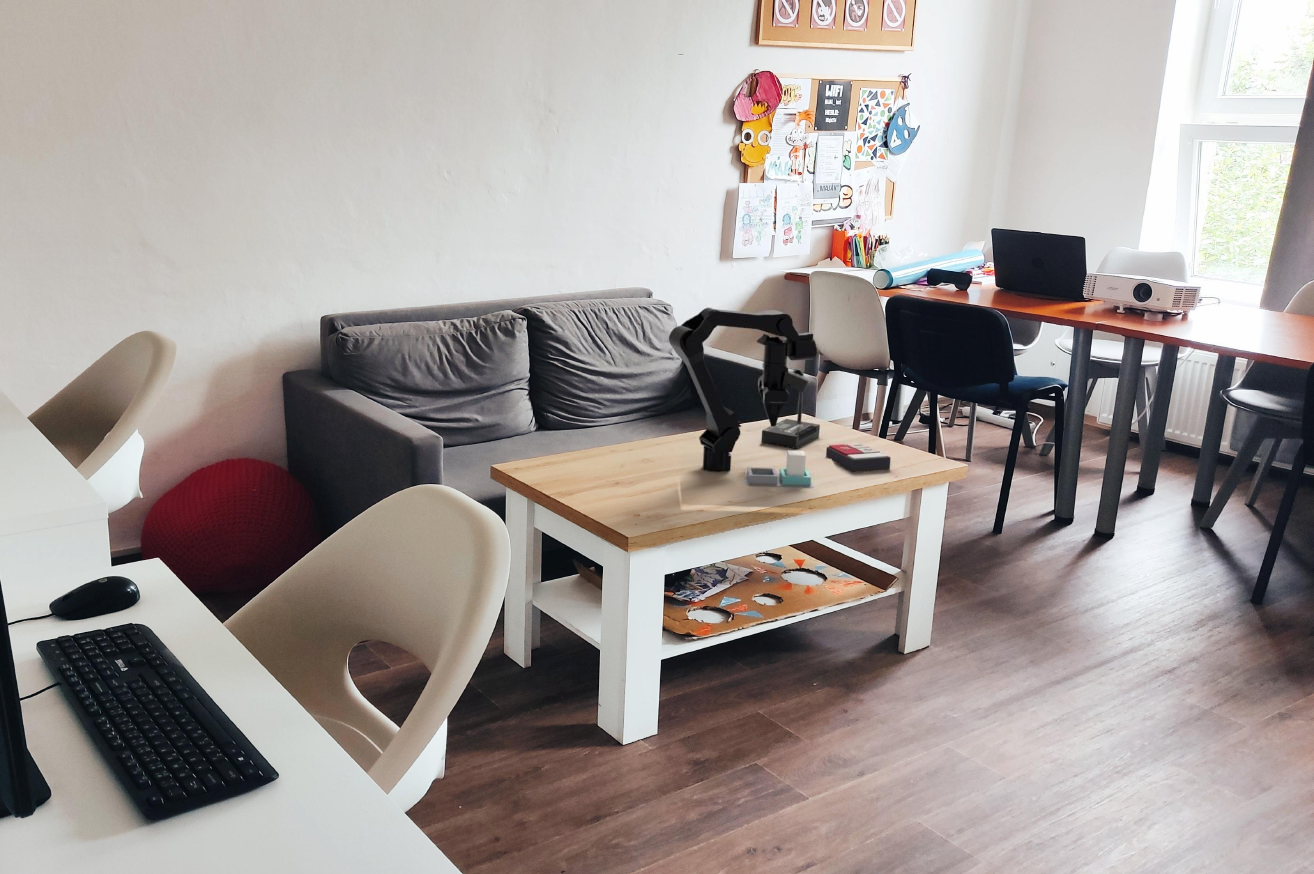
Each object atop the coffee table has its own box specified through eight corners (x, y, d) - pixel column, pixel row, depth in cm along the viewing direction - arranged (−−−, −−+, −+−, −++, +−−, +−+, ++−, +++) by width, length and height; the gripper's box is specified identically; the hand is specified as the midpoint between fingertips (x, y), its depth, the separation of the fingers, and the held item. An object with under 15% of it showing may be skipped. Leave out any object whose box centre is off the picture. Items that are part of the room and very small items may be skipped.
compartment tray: (746, 489, 261) (747, 477, 261) (743, 476, 271) (744, 465, 270) (813, 491, 262) (814, 479, 261) (808, 478, 271) (808, 467, 270)
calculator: (862, 441, 294) (891, 454, 280) (861, 457, 295) (890, 470, 281) (825, 444, 291) (853, 457, 277) (825, 459, 291) (852, 473, 278)
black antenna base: (801, 451, 296) (806, 389, 291) (755, 442, 303) (759, 382, 298) (830, 435, 312) (834, 377, 308) (785, 427, 319) (789, 370, 315)
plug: (787, 482, 264) (789, 455, 262) (785, 477, 268) (787, 450, 266) (803, 483, 264) (805, 455, 262) (801, 478, 268) (803, 450, 266)
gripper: (812, 370, 264) (807, 432, 268) (802, 355, 281) (798, 413, 286) (766, 368, 263) (762, 431, 268) (759, 353, 281) (756, 412, 286)
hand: (771, 421), depth 277 cm, fingers open, 9 cm apart
